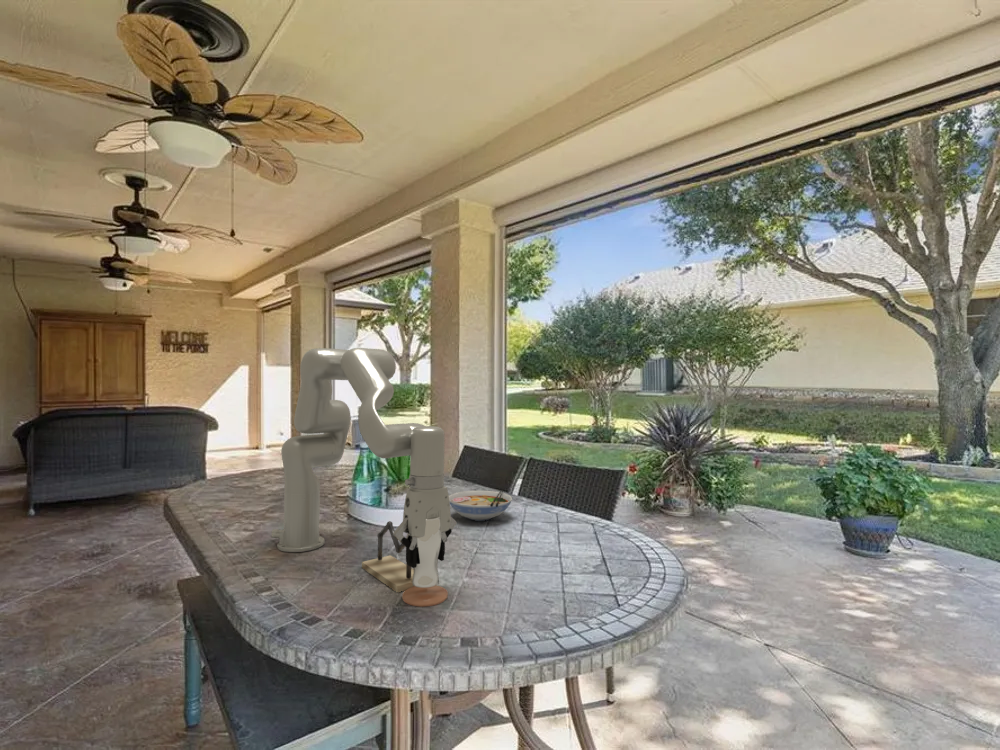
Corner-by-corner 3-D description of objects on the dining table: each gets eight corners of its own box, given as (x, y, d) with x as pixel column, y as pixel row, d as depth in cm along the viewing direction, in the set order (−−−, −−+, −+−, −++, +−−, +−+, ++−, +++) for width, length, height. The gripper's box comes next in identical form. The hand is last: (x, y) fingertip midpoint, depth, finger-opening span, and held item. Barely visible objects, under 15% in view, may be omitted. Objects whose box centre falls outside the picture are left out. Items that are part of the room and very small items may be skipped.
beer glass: (435, 590, 107) (436, 520, 107) (404, 587, 108) (405, 518, 109) (445, 578, 114) (446, 512, 114) (416, 575, 115) (417, 510, 115)
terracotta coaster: (396, 605, 107) (396, 602, 107) (409, 586, 116) (409, 583, 116) (442, 607, 106) (442, 605, 106) (451, 588, 116) (451, 585, 116)
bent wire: (375, 559, 128) (376, 516, 129) (381, 557, 129) (382, 515, 130) (407, 579, 116) (408, 532, 116) (413, 577, 117) (413, 531, 117)
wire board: (361, 567, 127) (361, 561, 127) (390, 561, 132) (390, 555, 132) (397, 592, 113) (397, 586, 113) (427, 584, 118) (427, 577, 118)
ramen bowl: (455, 507, 189) (456, 486, 189) (515, 511, 186) (516, 489, 186) (438, 526, 164) (439, 501, 164) (507, 530, 161) (508, 505, 161)
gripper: (400, 489, 103) (398, 577, 103) (468, 480, 114) (466, 559, 114) (383, 483, 109) (382, 566, 109) (449, 475, 120) (448, 550, 120)
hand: (425, 561), depth 111 cm, fingers closed on beer glass, 6 cm apart
